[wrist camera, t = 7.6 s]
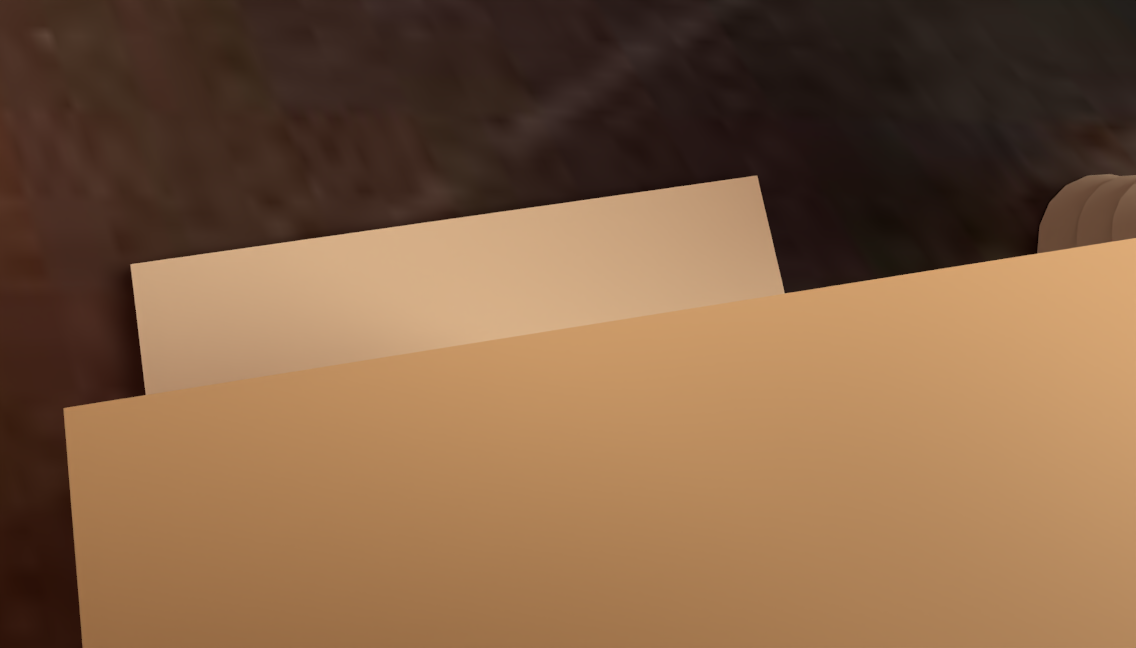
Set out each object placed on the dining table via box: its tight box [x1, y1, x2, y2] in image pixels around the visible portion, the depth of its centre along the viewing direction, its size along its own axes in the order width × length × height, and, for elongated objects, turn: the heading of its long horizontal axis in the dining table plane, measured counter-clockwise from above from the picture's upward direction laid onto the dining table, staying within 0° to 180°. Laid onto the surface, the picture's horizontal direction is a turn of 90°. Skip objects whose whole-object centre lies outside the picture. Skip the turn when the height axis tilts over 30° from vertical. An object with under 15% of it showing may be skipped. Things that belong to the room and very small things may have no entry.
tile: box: [130, 176, 785, 395], centre depth 18 cm, size 15×15×1 cm
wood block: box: [64, 238, 1136, 648], centre depth 9 cm, size 5×5×13 cm
